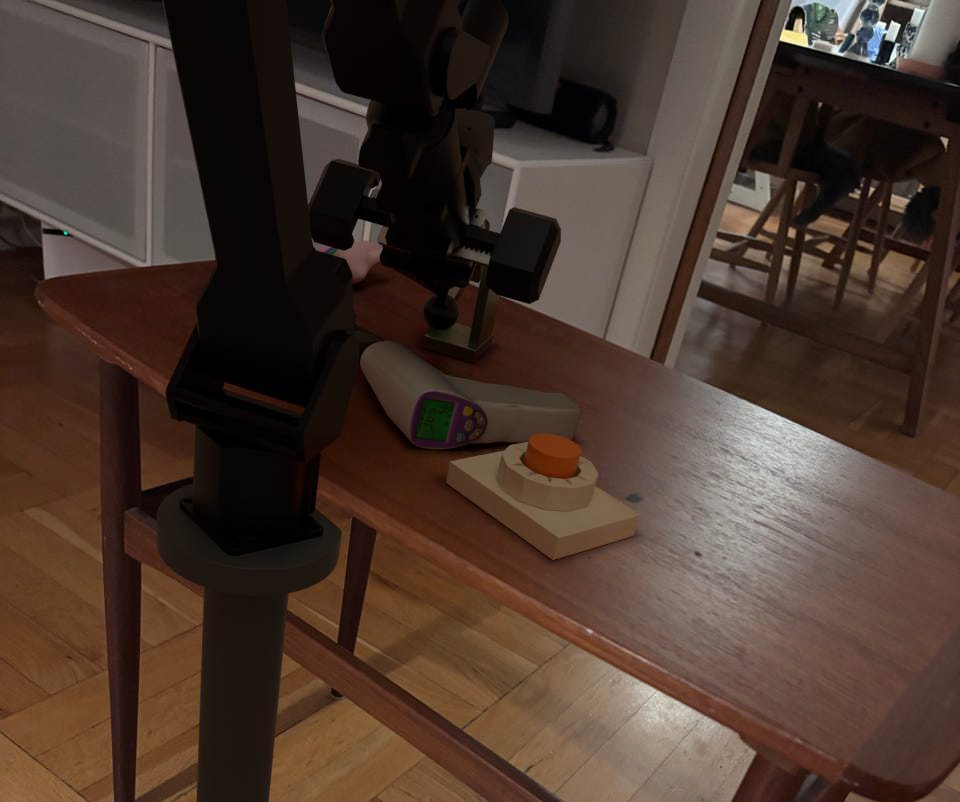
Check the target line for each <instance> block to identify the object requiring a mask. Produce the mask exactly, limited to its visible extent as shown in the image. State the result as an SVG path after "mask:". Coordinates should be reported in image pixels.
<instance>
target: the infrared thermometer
mask: <svg viewBox="0 0 960 802" xmlns="http://www.w3.org/2000/svg"><path fill="white" fill-rule="evenodd" d="M359 360H360V361H359V362H360V363H359V365H360V370H361V371H362V373H363V375H364V377H365V378H366V381H367V382H368V384H369V385H370V387H371V389H372V391H373V392H374V394H375V397H376V398H377V400H378V401H379V403H380V405H381V407H382V408H383V410H384V412H385V414H386V416H387V417H388V418H389V419H390V420H391V421H392V422H393V423H394V425H395V426H396V427H397V428H398V429H399V431H401V432H402V434H404V436H405V437H406V438H407V439H408V441H410V443H411V444H413V445H414V446H416V447H419V448H421V449H426V450H448V449H454V448H455V449H456V448H460V447H463V446H467V445H470V444H471V445H472V444H492V443H512V444H519V443H524V442H528V441H529V438H530V437H531V436H533V435H535V434H553V435H558V436H561V437H564V438H567V439H569V440H571V441H573V439H574V437H575V434H576V431H577V428H578V424H579V421H580V419H581V416H582V412H583V409H582V407H581V406H580V405H579V404H578V403H576V402H575V401H574V400H572V399H571V398H570V397H569V396H567V395H566V394H564V393H557V392H556V393H554V392H546V391H545V392H544V391H539V390H533V389H529V388H523V387H519V386H518V387H517V386H511V385H507V384H506V385H505V384H498V383H497V384H496V383H487V382H482V381H478V380H472V379H467V378H462V377H457V376H452V375H447V374H445V373H443V372H442V371H441V370H439V369H438V368H436V367H435V366H433V365H432V364H430V363H429V362H427V361H426V360H425V359H423V358H422V357H421V356H419V355H417V354H416V353H415V352H413V351H412V350H411V349H409V348H408V347H407V346H405V345H403V343H399V342H397V341H391V340H387V341H381V342H377V343H374V344H372V345H370V346H369V347H368V348H366V349H365V351H364V352H363V354H362V356H360V359H359Z"/></svg>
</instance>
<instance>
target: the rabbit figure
mask: <svg viewBox="0 0 960 802" xmlns="http://www.w3.org/2000/svg"><path fill="white" fill-rule="evenodd" d="M382 249H383V248H382V246H381V245H379V244H378V243H376V242H375V243H374V242H372V241H369V240H358V241H354V244H353V246H352V248H350V249H348V250H346V251H343V250H339V249H336V248H332V247H329V246H326V245H322V244H321V245H320V247H319V248H318V249H317V250H318V251H321V252H324V253H328V254H331V255H335V256H338V257H341V258H345V259H346V260H347V262H348V265H349V267H350V269H351V271H352V274H353V285H356V284H358V283H360V282H362V281H363V280H364V279H365V278H366V276H367V275H368V273H369V270H370V269H371V268H372V267H373V266H375V265H377V264H379V263H381V262H380V254H381V251H382Z"/></svg>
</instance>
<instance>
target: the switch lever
mask: <svg viewBox="0 0 960 802" xmlns="http://www.w3.org/2000/svg"><path fill="white" fill-rule="evenodd" d="M482 269H483V265H480V264H477V265H476V267H475V270H474V272H473V275H472V278H471V280H470V282H474V283H476V284H480V279H481V274H482ZM465 289H466V287H464V288H459V287H453V288H451V289H450V290H449V293H448V295H447V297H446V298H445V297H442V296H438V295H436V294H434V293H433V294H432V295H430V296H429V297H428V298H427V300H426V301H425V303H424V305H423V310H422V311H423V317H424V320H425V322H426V324H427V325H430V326H431V327H432V328H434V329H437V330H446V329H449V328H450V327H452V326H453V325H454V324H455V323H457V321H458V318H459V314H460V309H459V305H458V303H457V302H458V301H459V299H460V297H461V296H462V294H463V292H464V291H465Z"/></svg>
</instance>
